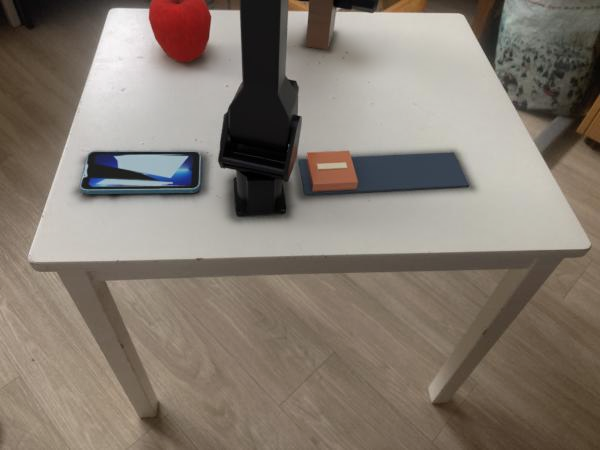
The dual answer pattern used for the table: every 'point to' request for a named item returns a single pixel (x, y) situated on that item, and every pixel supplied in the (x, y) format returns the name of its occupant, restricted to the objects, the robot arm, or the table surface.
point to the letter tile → (331, 171)
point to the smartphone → (141, 172)
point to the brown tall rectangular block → (320, 23)
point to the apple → (181, 27)
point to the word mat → (398, 173)
